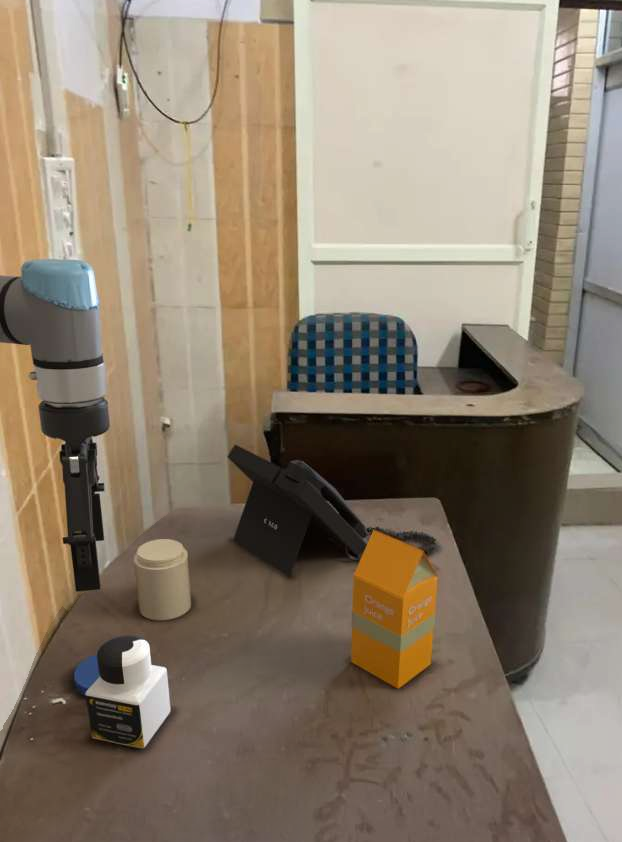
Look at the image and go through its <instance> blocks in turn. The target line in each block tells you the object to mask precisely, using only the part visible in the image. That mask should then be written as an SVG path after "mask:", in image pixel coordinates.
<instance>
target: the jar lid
mask: <svg viewBox="0 0 622 842" xmlns="http://www.w3.org/2000/svg"><path fill="white" fill-rule="evenodd" d="M99 677H100V676H99V669H98V662H97V653H95V654H93V655H91V656H89V657H87V658H85V659H84V660H82V661H81V662H80V663H79V664H78V665H77V666H76V668H75V670H74V673H73V685H74V687H75V688H76V689H75V690H76V691H77V692H78V693H79V694H80V695H83V696H84V697H86V695H85V693H86V691H87V690H88V689H89V688H90V687H91V686H92V685H93V684H94V682H95V681H96V680H97V679H98V678H99Z"/></svg>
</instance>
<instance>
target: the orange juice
mask: <svg viewBox="0 0 622 842" xmlns="http://www.w3.org/2000/svg"><path fill="white" fill-rule="evenodd" d="M352 577H353V578H352V608H351V610H352V611H351V644H350V645H351V652H350V663H352V664H354V665H356V666H357V667H359V668H361V669H362V670H364V671H366V672H368V673H370V674H371V675H373V676H375V677H376V678H378V679H380V680H381V681H384V682H385V683H387V684H389V685H391V686H392V687H394V688H396V689H400V688H401V687H403V686H404V685H405V684H406V683H408V682H409V681H410V680H412V679H413V678H414V677H416V676H417V675H418V674H420V673H421V672H422V671H424V670H425V669H426V668H428V667H429V666H430V665H431V664H432V654H433V642H434V630H435V622H436V621H435V620H436V604H437V591H438V581H439V579H438V578H439V575H438V574H437V572H436V570H435V568H434V567H433V565H432V563H431V561H430V560H429V558H428V556H427V554H426V553H424V551H423V550H421V549H419V548H418V546H415V545H412V544H410V543H407V542H405V541H403V540H401V539H399V540H398V539H397V538H396V539H395V538H393V537H391V536H388V535H386V534H384V533H381V532H379V531H377V530H374V529H373V532H372V534H371V535H370V536H369V539H368V541H367V546H366V548H365V551H364V553H363V555H362V557H361V560H359V562H358V563H357V567H356V569H355V571H354V573H353V575H352Z"/></svg>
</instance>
